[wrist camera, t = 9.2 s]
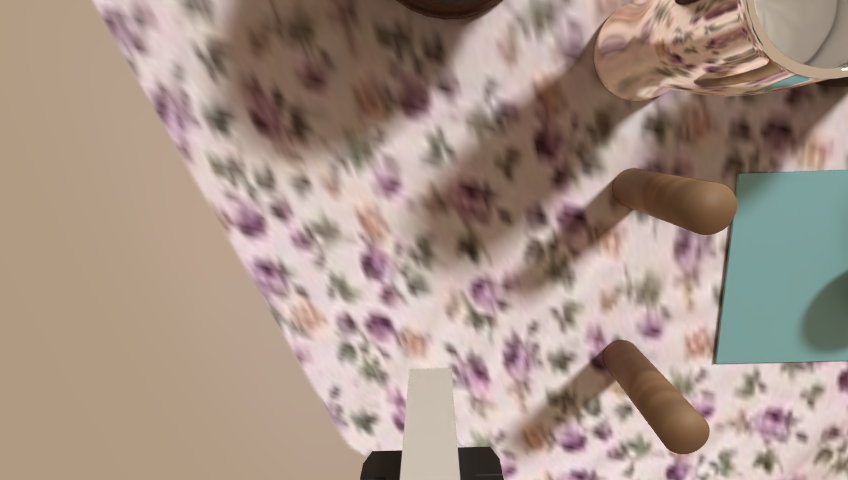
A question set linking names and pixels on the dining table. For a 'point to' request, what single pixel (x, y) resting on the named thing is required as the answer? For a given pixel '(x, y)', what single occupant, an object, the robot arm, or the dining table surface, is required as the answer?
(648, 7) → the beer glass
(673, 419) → the outer post
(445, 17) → the fabric smart speaker
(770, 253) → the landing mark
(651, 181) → the inner post
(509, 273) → the dining table surface
